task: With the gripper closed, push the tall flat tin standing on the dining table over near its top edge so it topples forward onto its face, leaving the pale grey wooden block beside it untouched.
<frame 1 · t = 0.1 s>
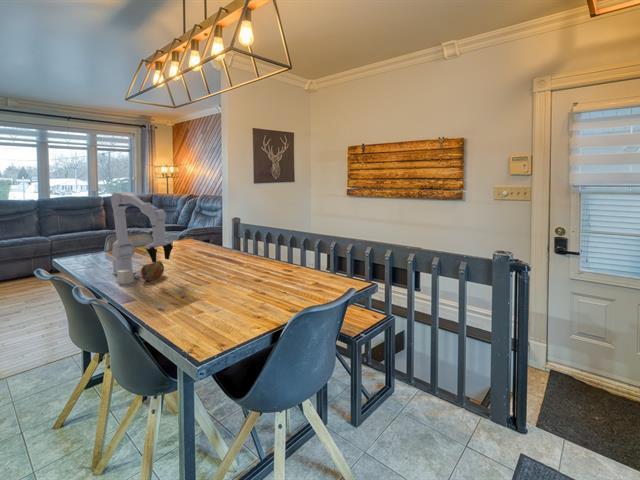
hand: (160, 260, 181), 10 cm above the table, tool pointing down, fingers open, 7 cm apart
tin: (153, 278, 185), on the table
grey block: (125, 282, 177), on the table
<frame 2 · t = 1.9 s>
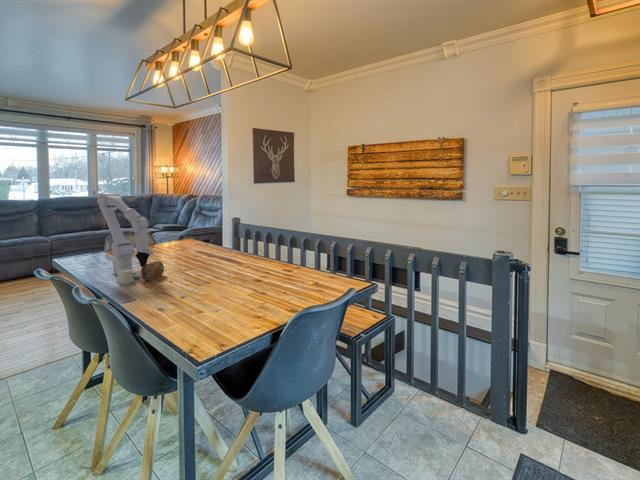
hand: (143, 266, 187), 5 cm above the table, tool pointing down, fingers closed
nothing on the table moved.
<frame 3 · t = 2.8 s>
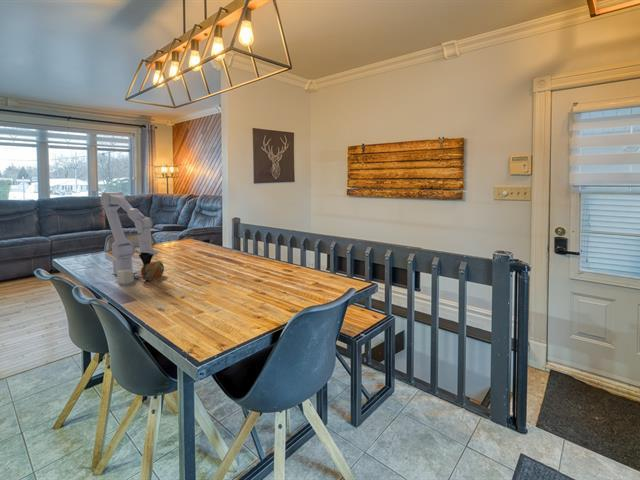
hand: (147, 267, 185), 5 cm above the table, tool pointing down, fingers closed
nothing on the table moved.
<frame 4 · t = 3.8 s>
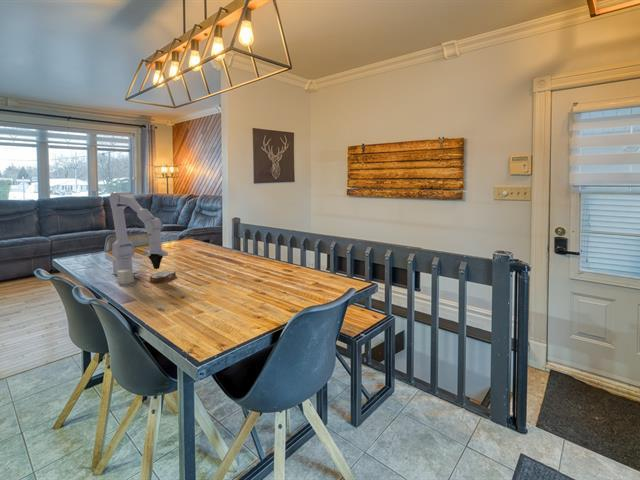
hand: (156, 268, 183), 5 cm above the table, tool pointing down, fingers closed
tin: (155, 275, 184), point 2 cm above the table
everything else where it was.
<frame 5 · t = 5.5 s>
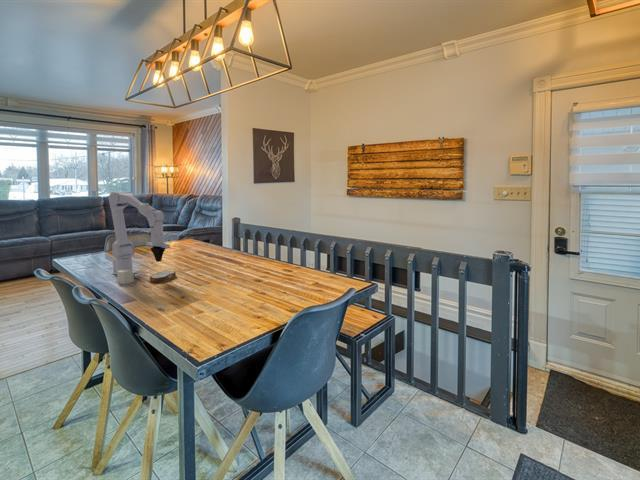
hand: (158, 261, 182), 9 cm above the table, tool pointing down, fingers closed
nothing on the table moved.
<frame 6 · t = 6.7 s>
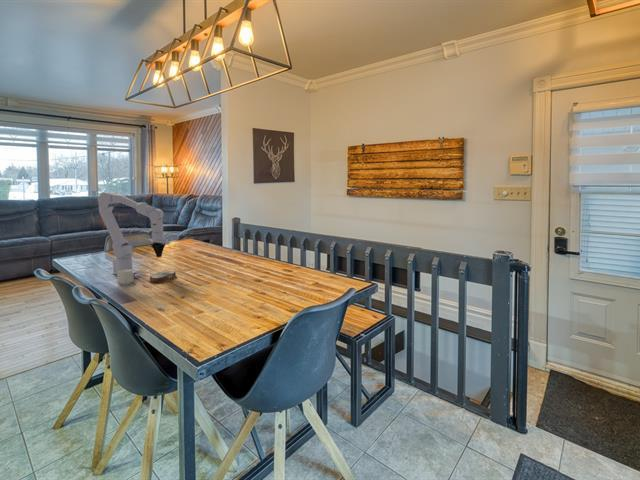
hand: (159, 256, 192), 9 cm above the table, tool pointing down, fingers closed
nothing on the table moved.
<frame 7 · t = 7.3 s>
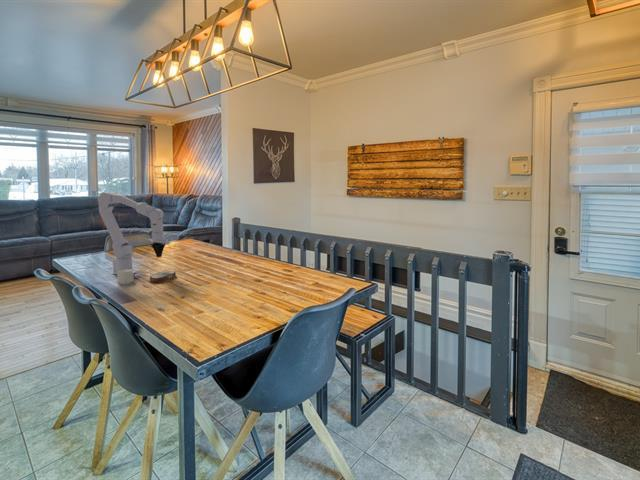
hand: (159, 256, 192), 9 cm above the table, tool pointing down, fingers closed
nothing on the table moved.
at the end: tin tilted 94°; tin inside the target area (3.0 cm from its centre), point 1.6 cm above the table; grey block moved 0.1 cm from its start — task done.
